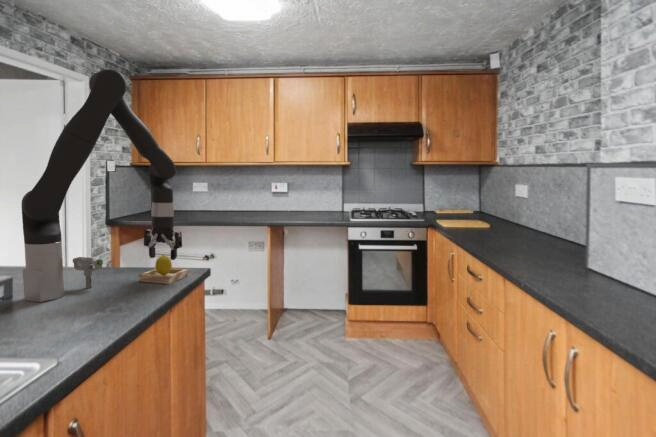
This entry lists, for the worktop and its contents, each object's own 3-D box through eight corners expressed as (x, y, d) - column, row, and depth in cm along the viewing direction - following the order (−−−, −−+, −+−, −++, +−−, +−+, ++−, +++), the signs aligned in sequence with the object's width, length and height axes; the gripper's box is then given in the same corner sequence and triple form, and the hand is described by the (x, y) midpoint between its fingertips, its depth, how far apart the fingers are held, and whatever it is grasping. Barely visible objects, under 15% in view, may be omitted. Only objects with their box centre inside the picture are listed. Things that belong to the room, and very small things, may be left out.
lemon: (156, 278, 143) (155, 256, 142) (155, 275, 148) (154, 254, 147) (172, 277, 146) (172, 255, 145) (170, 273, 151) (170, 253, 150)
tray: (168, 283, 140) (168, 277, 140) (139, 281, 142) (138, 274, 142) (188, 275, 152) (187, 269, 151) (160, 273, 154) (160, 267, 154)
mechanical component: (98, 290, 131) (97, 260, 130) (72, 287, 133) (70, 258, 132) (105, 287, 133) (104, 258, 132) (79, 285, 135) (78, 256, 134)
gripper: (138, 214, 142) (139, 259, 144) (174, 216, 139) (174, 262, 141) (152, 213, 150) (152, 255, 151) (186, 215, 147) (186, 258, 148)
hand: (163, 258), depth 146 cm, fingers open, 8 cm apart
